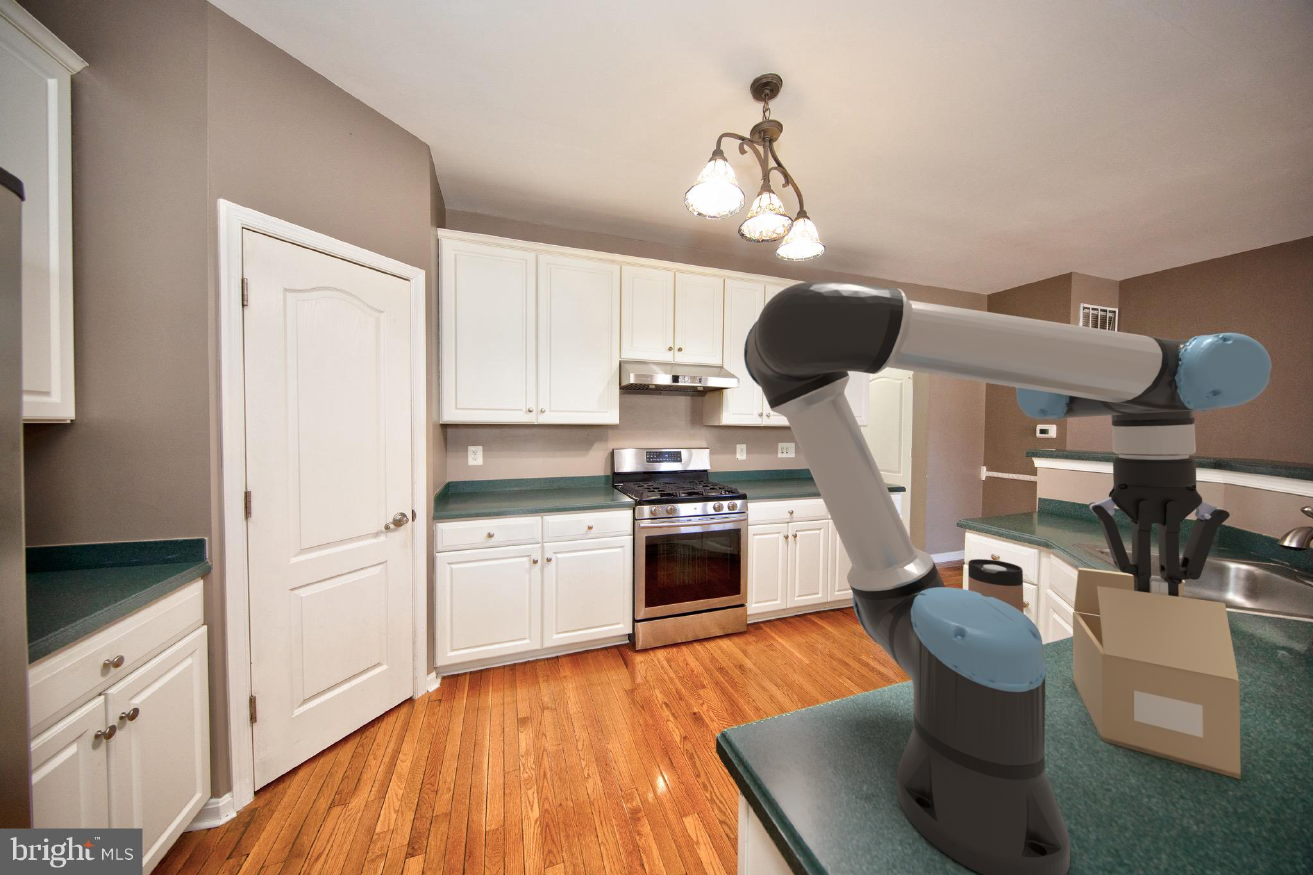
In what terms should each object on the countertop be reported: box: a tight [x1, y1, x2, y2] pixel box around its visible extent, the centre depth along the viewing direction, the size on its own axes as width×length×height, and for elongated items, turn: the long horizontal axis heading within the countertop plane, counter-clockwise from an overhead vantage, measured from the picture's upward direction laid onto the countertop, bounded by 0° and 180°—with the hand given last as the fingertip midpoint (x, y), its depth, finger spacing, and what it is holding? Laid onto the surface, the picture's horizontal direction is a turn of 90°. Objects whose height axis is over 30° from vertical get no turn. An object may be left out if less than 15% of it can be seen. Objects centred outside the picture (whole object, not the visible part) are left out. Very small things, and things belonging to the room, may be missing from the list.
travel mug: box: [967, 558, 1025, 614], centre depth 75 cm, size 8×8×20 cm
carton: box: [1072, 611, 1242, 780], centre depth 64 cm, size 18×12×12 cm, turn 145°
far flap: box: [1073, 567, 1186, 616], centre depth 70 cm, size 9×12×1 cm
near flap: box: [1097, 586, 1240, 681], centre depth 58 cm, size 9×12×1 cm
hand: (1156, 624), depth 60 cm, fingers closed
